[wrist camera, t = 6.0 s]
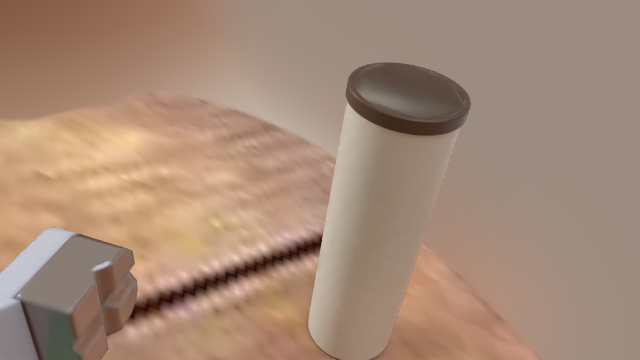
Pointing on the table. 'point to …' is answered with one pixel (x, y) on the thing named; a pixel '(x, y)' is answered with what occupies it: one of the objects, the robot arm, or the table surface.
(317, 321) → the capped cylinder
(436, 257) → the table surface
